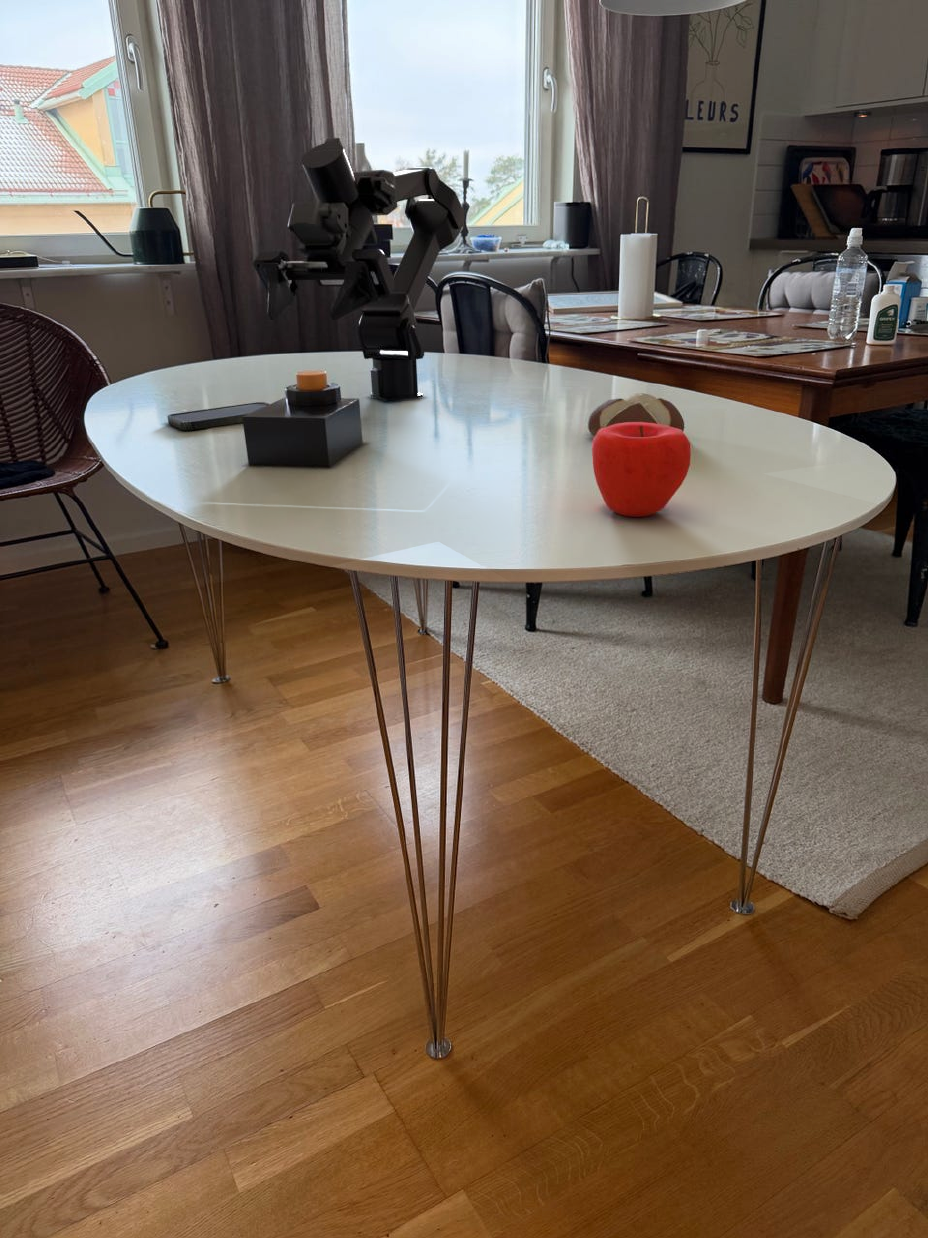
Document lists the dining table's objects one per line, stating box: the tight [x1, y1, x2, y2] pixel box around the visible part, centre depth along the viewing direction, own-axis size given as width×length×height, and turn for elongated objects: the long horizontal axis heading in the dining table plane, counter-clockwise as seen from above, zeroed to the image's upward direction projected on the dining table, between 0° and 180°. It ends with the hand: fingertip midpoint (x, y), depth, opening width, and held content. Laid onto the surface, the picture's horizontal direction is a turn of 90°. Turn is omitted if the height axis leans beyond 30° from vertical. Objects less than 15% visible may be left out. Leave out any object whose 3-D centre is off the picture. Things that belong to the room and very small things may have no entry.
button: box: [295, 370, 328, 390], centre depth 104 cm, size 4×4×2 cm
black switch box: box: [242, 381, 364, 469], centre depth 103 cm, size 13×10×8 cm
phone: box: [166, 401, 270, 431], centre depth 124 cm, size 8×1×15 cm
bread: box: [587, 393, 685, 437], centre depth 106 cm, size 11×11×5 cm
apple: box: [591, 422, 692, 518], centre depth 78 cm, size 9×9×8 cm
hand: (300, 318), depth 109 cm, fingers open, 9 cm apart
